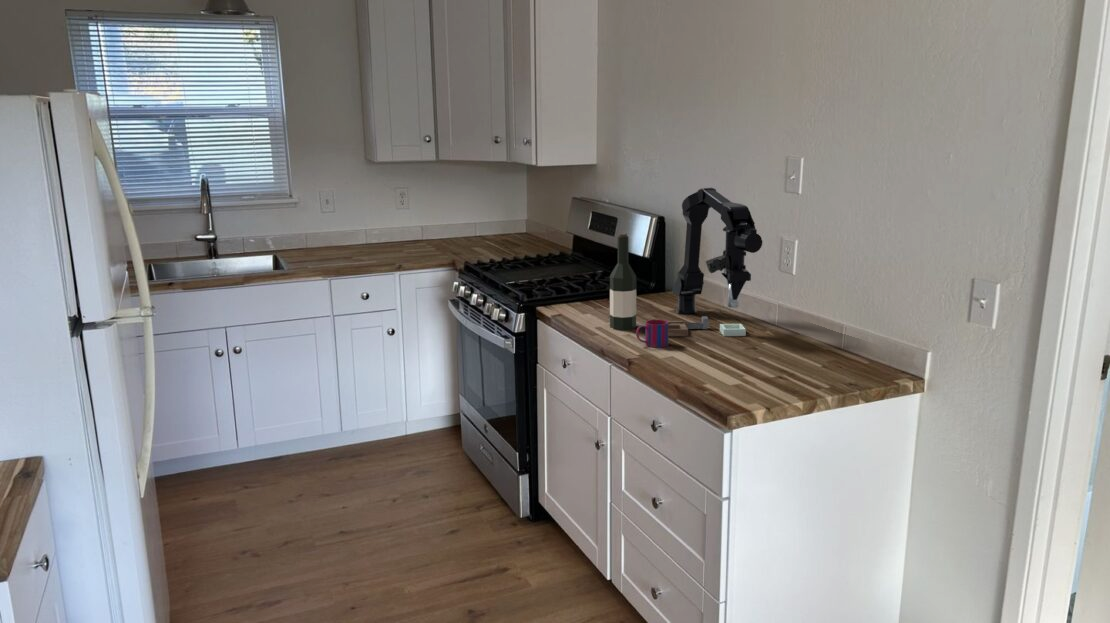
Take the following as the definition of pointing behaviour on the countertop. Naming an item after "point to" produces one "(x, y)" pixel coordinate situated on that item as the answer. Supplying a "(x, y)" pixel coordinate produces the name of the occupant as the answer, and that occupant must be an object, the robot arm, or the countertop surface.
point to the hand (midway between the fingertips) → (733, 298)
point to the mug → (655, 333)
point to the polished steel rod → (732, 302)
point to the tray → (732, 330)
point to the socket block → (677, 329)
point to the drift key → (697, 324)
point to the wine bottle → (623, 290)
